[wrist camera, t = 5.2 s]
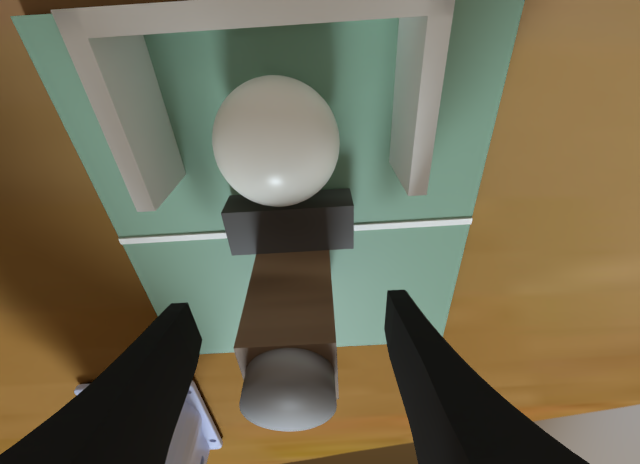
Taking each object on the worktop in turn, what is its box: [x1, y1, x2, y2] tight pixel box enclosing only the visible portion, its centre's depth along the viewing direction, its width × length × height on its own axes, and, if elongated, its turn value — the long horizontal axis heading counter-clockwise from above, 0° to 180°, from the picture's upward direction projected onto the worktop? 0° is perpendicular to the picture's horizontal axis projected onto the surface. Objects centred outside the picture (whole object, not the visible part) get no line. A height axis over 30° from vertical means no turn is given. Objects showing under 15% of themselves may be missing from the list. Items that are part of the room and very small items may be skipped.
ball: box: [212, 75, 340, 207], centre depth 10 cm, size 4×4×4 cm
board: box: [10, 0, 525, 354], centre depth 15 cm, size 17×16×1 cm
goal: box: [51, 0, 455, 212], centre depth 10 cm, size 5×9×3 cm, turn 93°
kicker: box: [221, 188, 354, 431], centre depth 12 cm, size 5×5×7 cm
